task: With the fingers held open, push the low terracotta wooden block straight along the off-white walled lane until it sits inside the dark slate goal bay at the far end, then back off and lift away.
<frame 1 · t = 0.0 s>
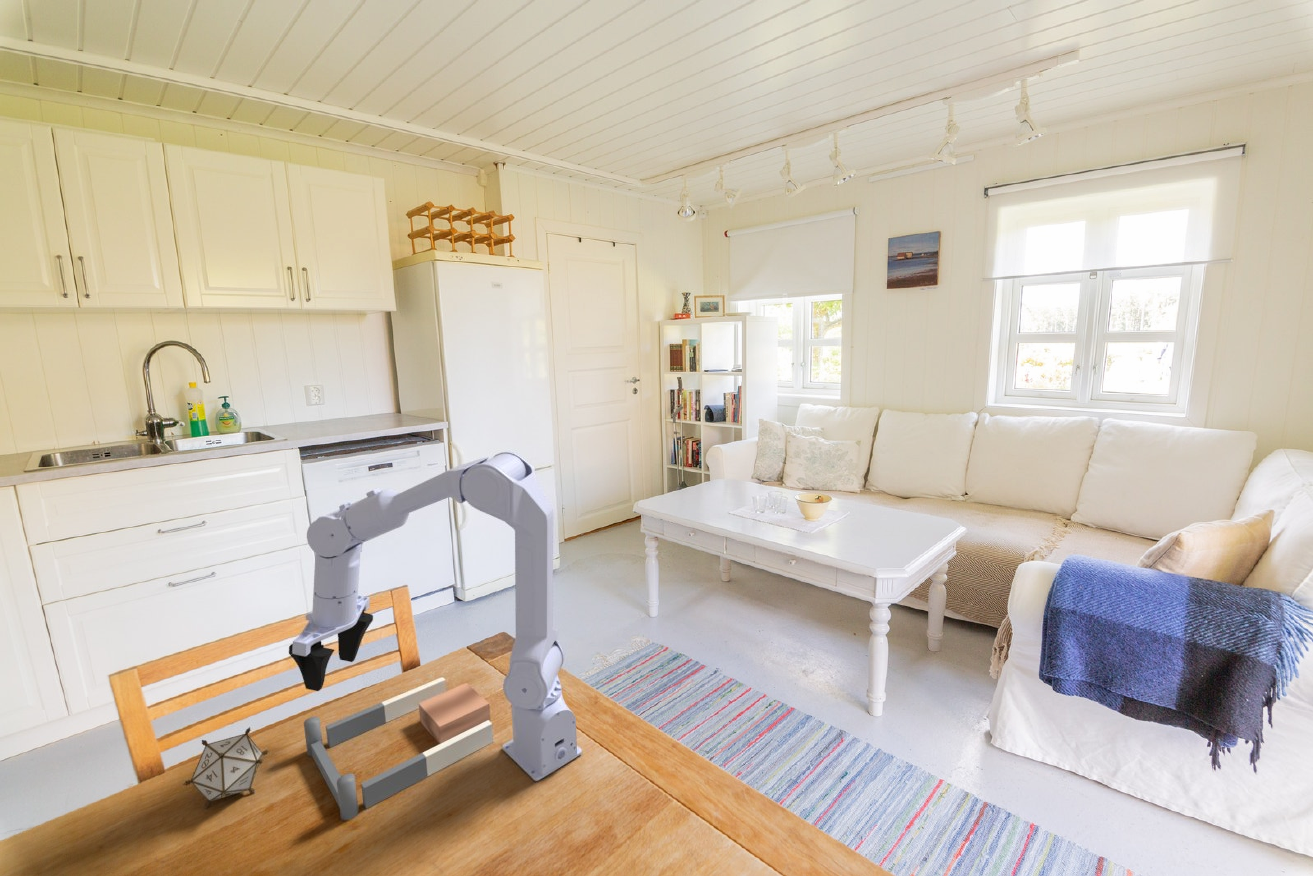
hand: (331, 673, 86), 11 cm above the table, tool pointing down, fingers open, 7 cm apart
game die: (232, 794, 77), on the table
goal bay: (375, 759, 83), on the table
sliding block: (455, 723, 91), on the table
lane walls: (436, 730, 89), on the table
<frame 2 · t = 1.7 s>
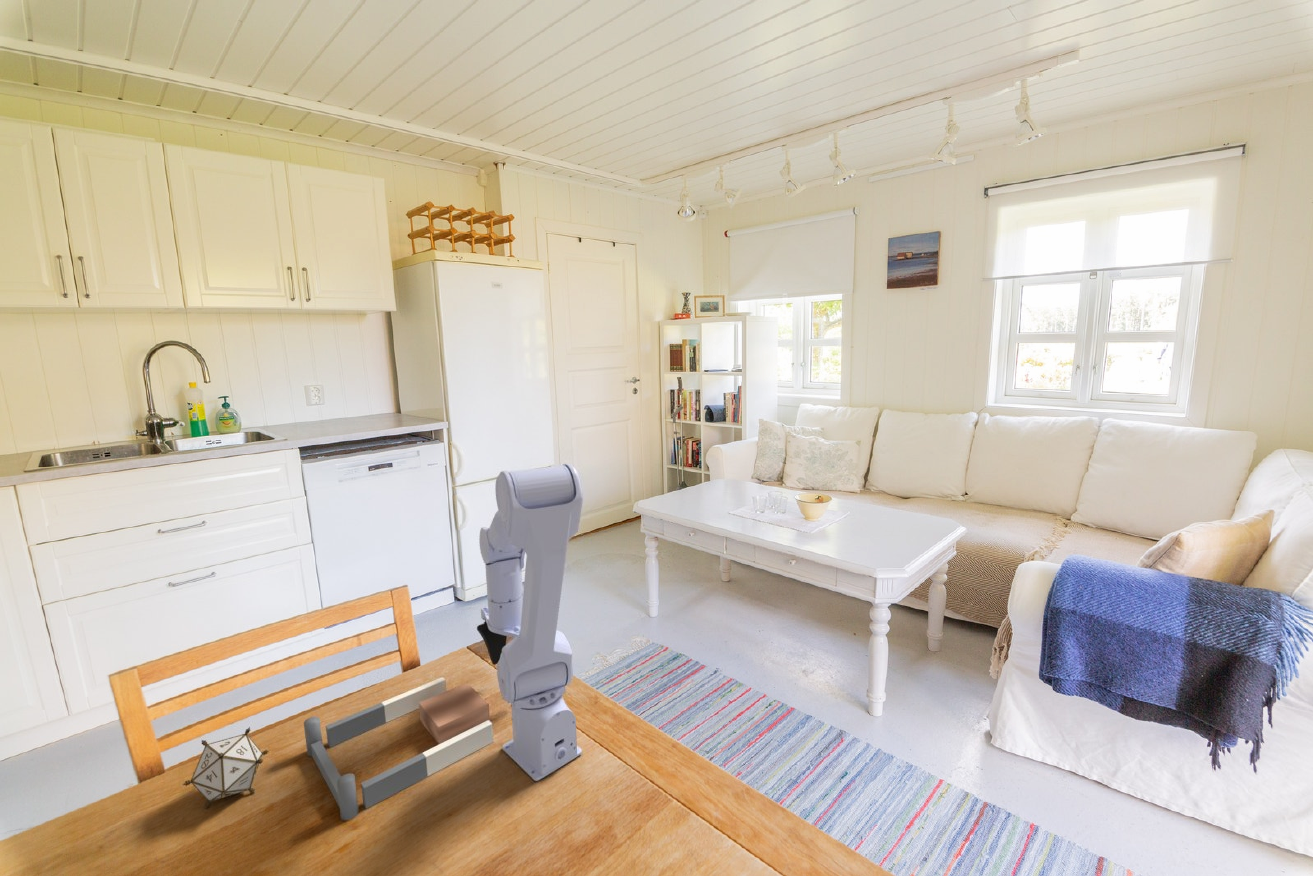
hand: (509, 671, 97), 4 cm above the table, tool pointing down, fingers open, 7 cm apart
nothing on the table moved.
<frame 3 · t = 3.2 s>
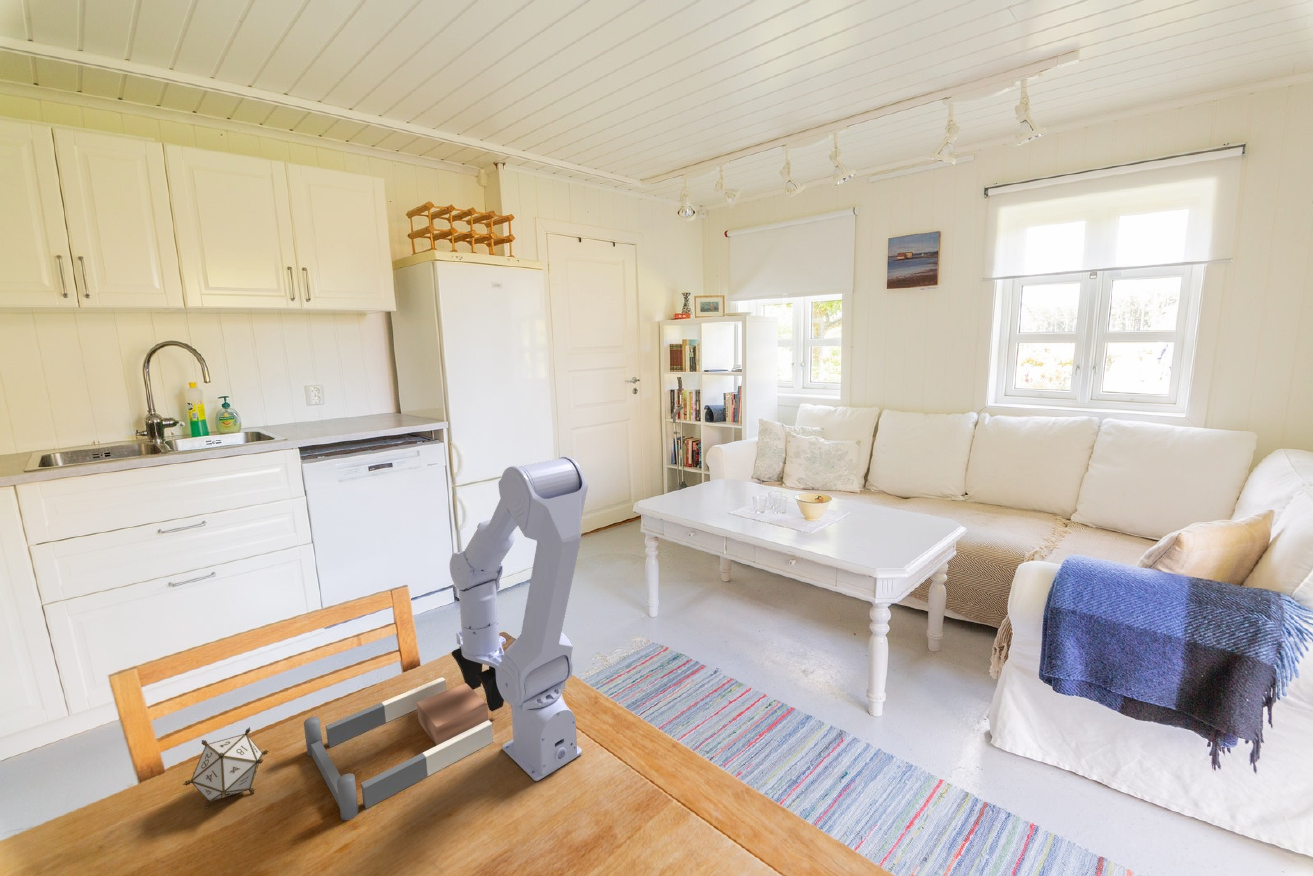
hand: (484, 698, 95), 2 cm above the table, tool pointing down, fingers open, 7 cm apart
sliding block: (453, 723, 91), on the table, touching gripper
everything else where it was.
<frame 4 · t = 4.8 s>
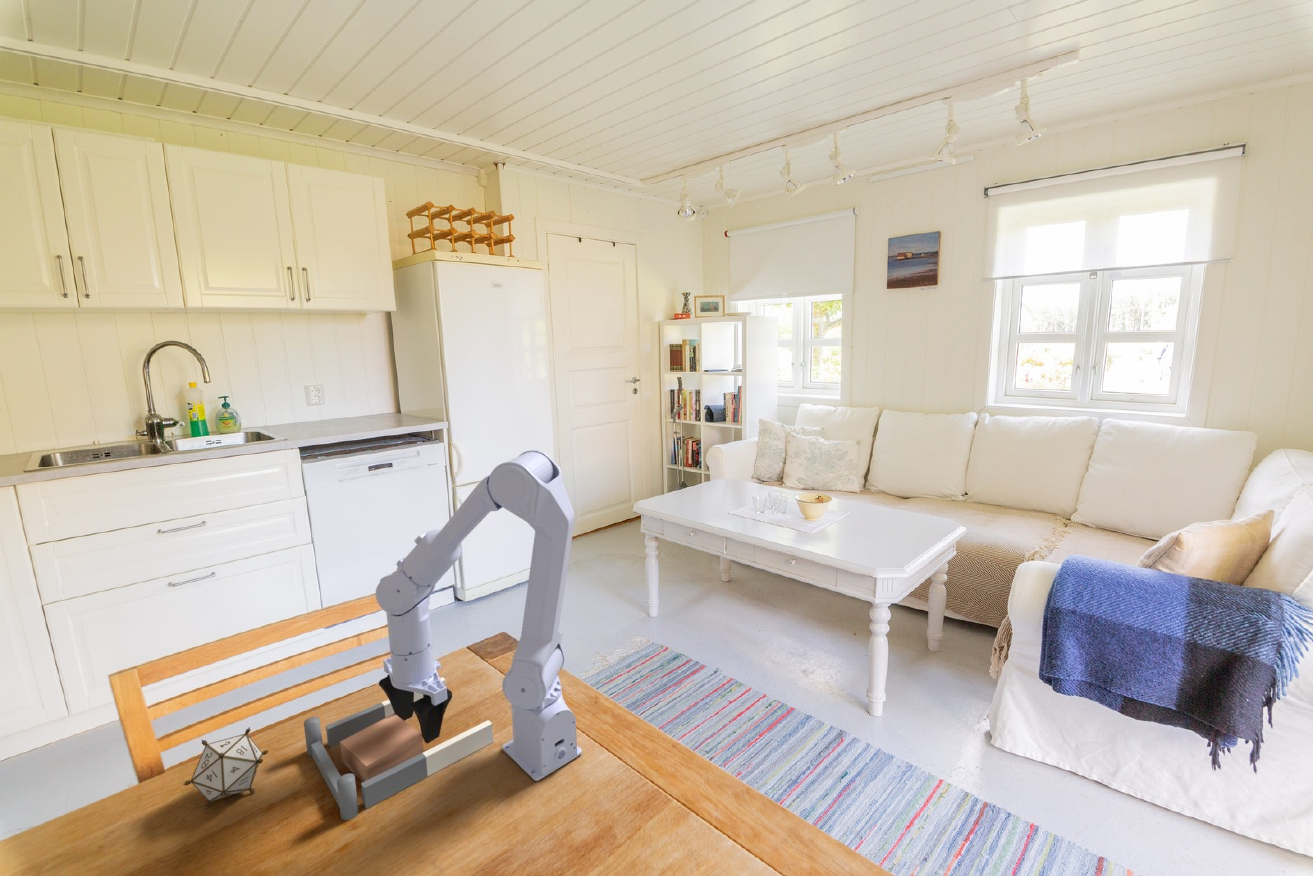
hand: (418, 728, 87), 2 cm above the table, tool pointing down, fingers open, 7 cm apart
sliding block: (383, 759, 83), on the table
everything else where it was.
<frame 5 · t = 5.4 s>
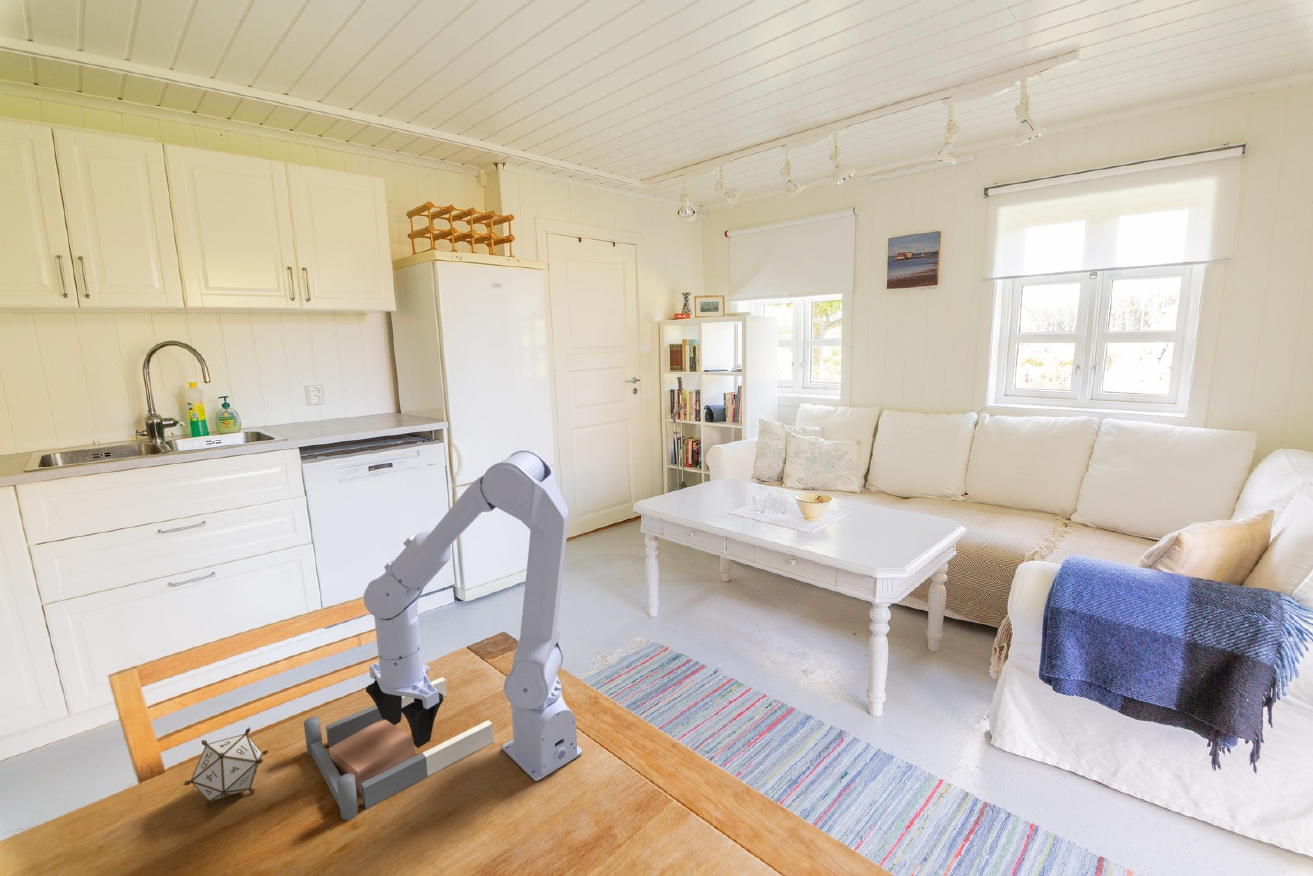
hand: (407, 733, 86), 2 cm above the table, tool pointing down
sliding block: (373, 765, 82), on the table, touching goal bay, gripper
everything else where it was.
when the fingers open (2 cm above the table, at t = 6.0 s): sliding block stays where it is, on the table.
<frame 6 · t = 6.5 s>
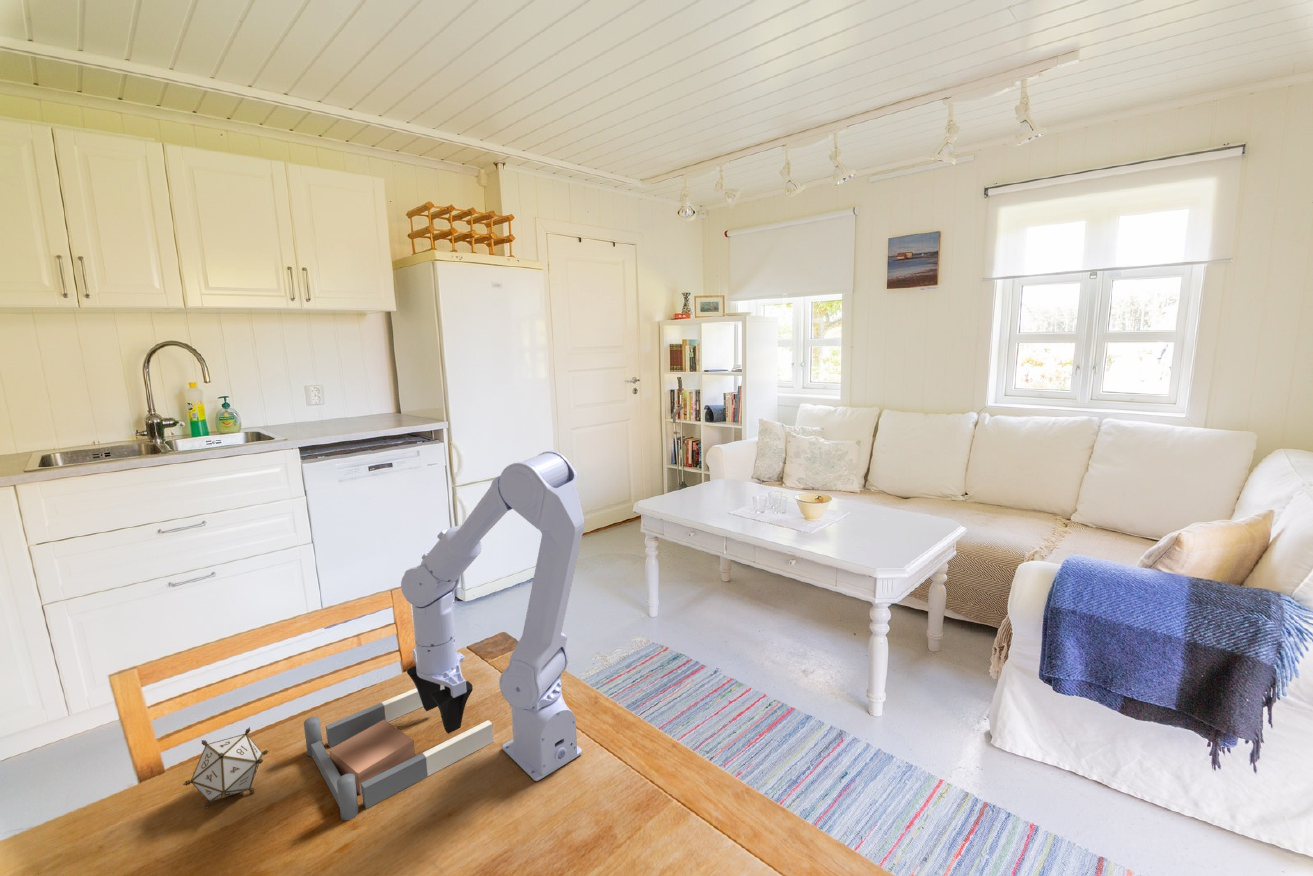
hand: (442, 718, 90), 2 cm above the table, tool pointing down, fingers open, 7 cm apart
sliding block: (374, 766, 82), on the table
everything else where it was.
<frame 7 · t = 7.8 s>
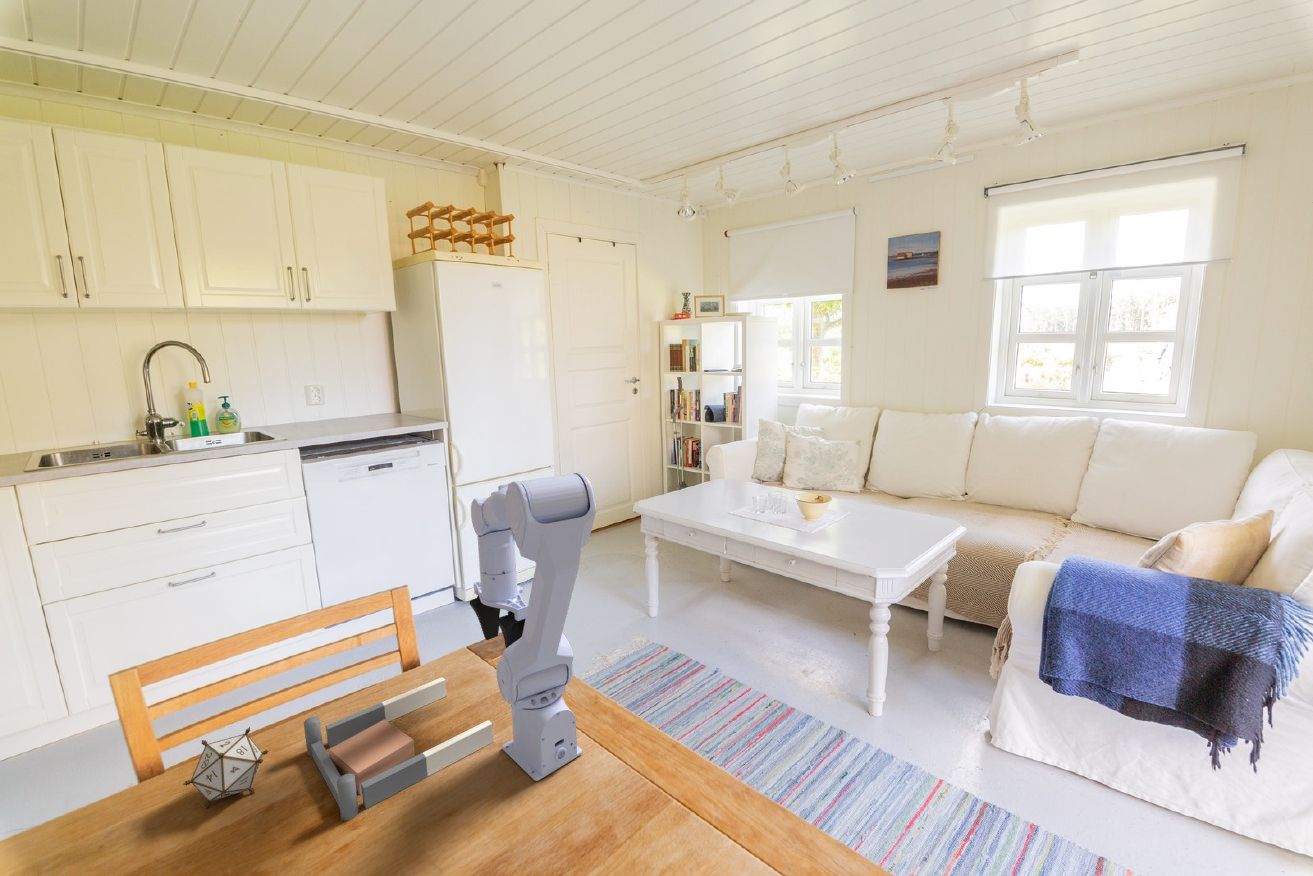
hand: (502, 645, 96), 9 cm above the table, tool pointing down, fingers open, 7 cm apart
nothing on the table moved.
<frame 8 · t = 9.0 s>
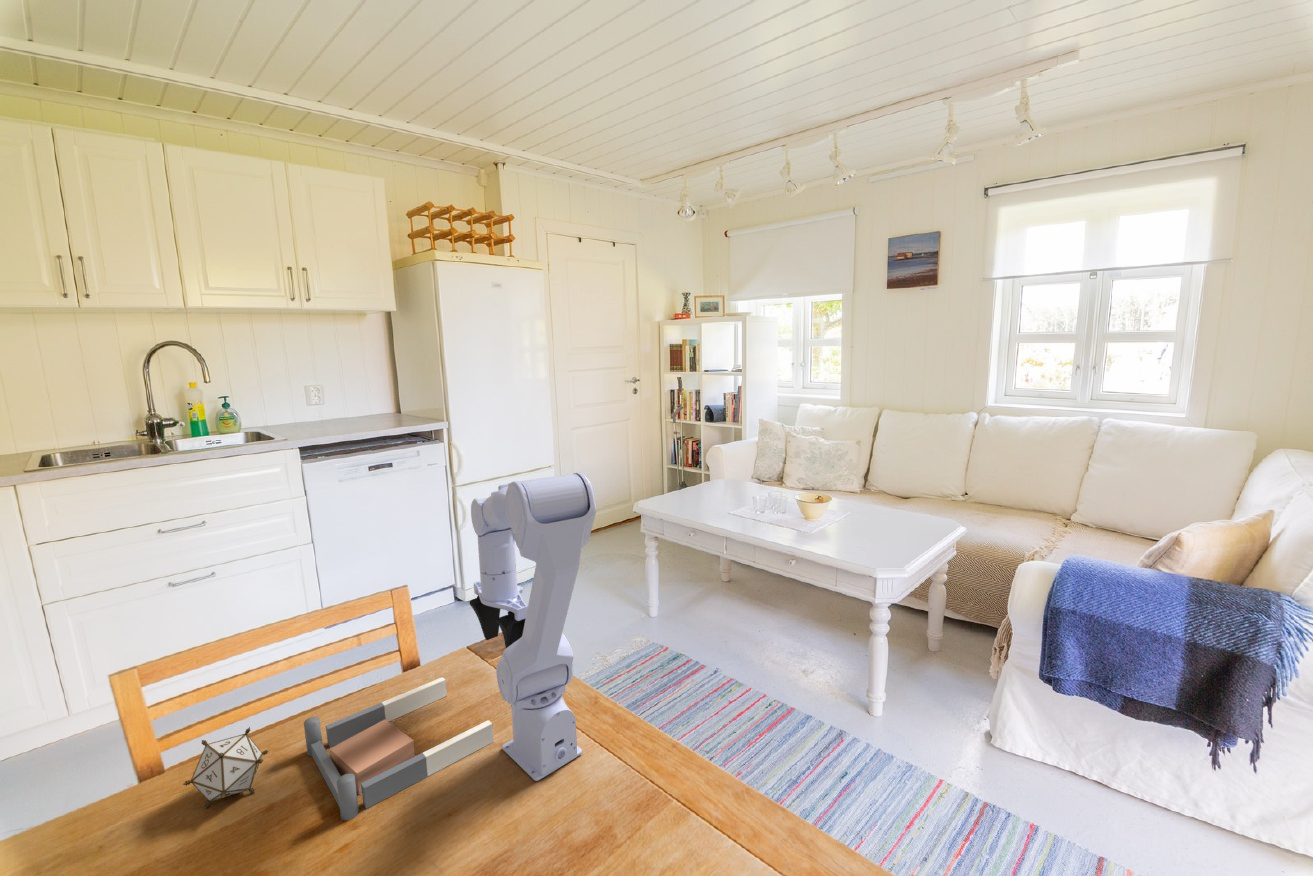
hand: (502, 645, 96), 9 cm above the table, tool pointing down, fingers open, 7 cm apart
nothing on the table moved.
at the end: sliding block inside the target area (0.9 cm from its centre), on the table; sliding block tilted 0° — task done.
